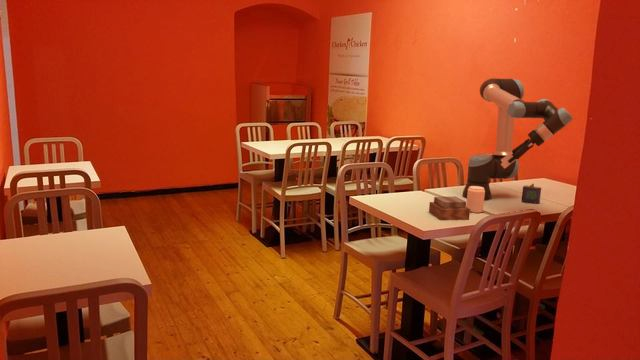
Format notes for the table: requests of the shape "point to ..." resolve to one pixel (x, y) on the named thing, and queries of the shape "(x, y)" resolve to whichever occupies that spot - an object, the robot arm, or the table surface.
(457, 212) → the stepped brown pedestal
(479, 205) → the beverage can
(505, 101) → the robot arm
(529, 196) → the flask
